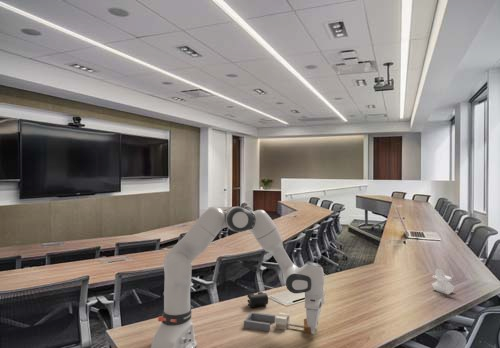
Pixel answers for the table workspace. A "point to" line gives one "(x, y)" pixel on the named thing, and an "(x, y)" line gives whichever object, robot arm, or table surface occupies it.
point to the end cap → (257, 299)
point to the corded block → (283, 323)
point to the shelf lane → (259, 325)
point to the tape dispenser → (442, 282)
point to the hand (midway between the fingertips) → (314, 328)
